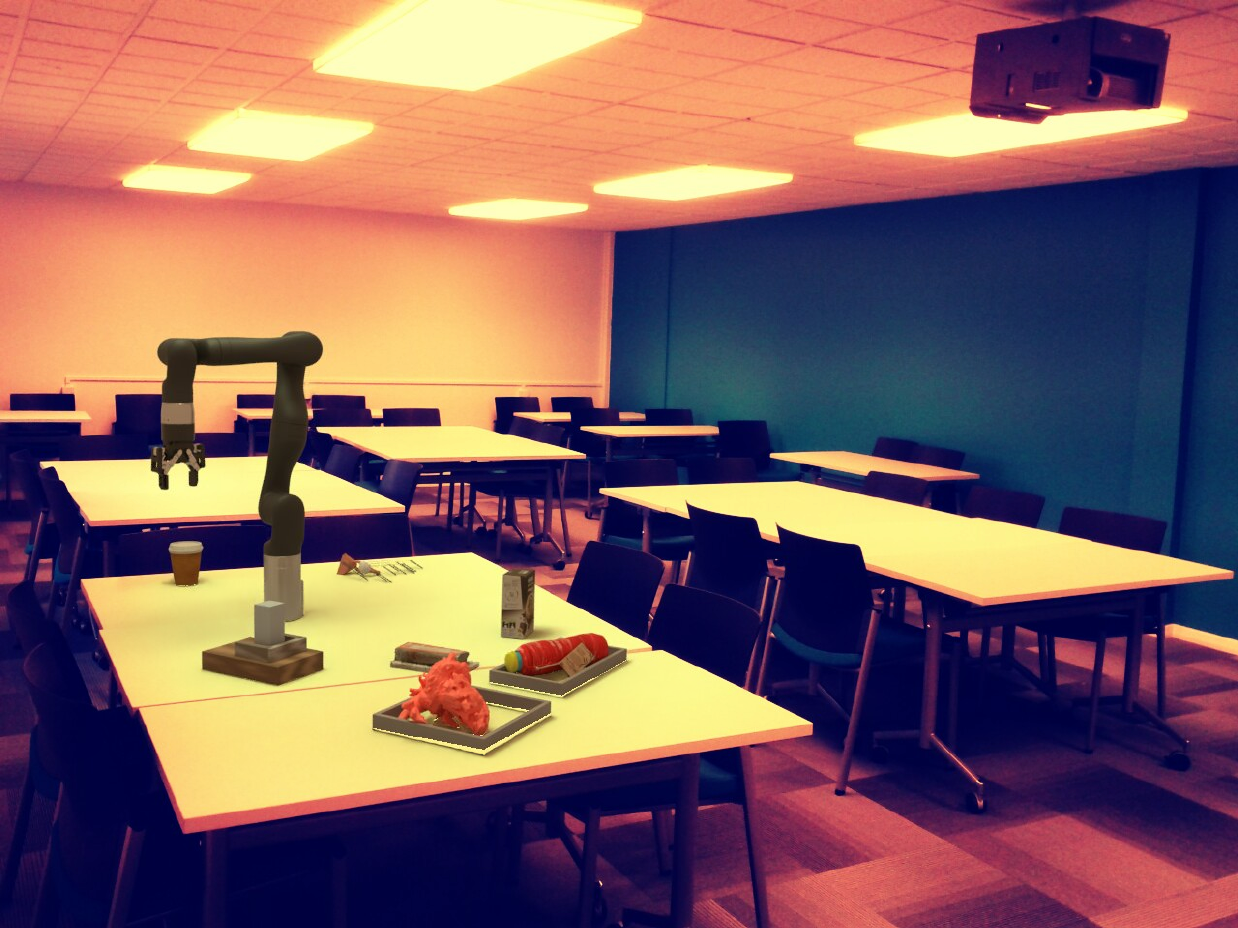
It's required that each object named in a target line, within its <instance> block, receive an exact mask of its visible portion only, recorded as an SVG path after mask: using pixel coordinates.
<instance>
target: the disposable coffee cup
mask: <svg viewBox="0 0 1238 928" xmlns="http://www.w3.org/2000/svg"><path fill="white" fill-rule="evenodd" d="M203 549H204V546H203V544H202V542H200V541H193V540H192V541H191V540H190V541H187V540H186V541H176V542H172V543H170V545H169V548H168V551H169V553H170V559H171V566H172V572H173V578H174V580H173V581H174V585H175V584H176V585H175V586H177V585H185V586H184V587H187V586H186V585H192V586H195V585H194V584H196V585H198V584H199V577H200V569H201V561H202V551H203ZM197 583H198V584H197Z"/></svg>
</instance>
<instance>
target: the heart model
mask: <svg viewBox="0 0 1238 928" xmlns="http://www.w3.org/2000/svg"><path fill="white" fill-rule="evenodd" d="M455 656H456V654H455V653H454V652H451V653H450V654H449V656H448V657H447V658H445V657H444V658H443V660H441V661H439V662H437V663H436V664H434V665H433V666H432V668H431V669H430V671H429V673H427V674H426V673H425V672H422V675H421V674H419V675H418V677H417V679H418V682H419V684H420V685H419V687H418V688H411V687H410V688H409V694H408V696H409V697H412V696H413V697H412V698H411V699H410V700H409V701H407V702H406V703H405V702H404V703H403V704H402V709H404V710H403V711H402V712H401V714H400V715H399V717H398V718H402V719H406V720H409V718H410V719H411V721H413V722H418V723H424V724H428V721H426V719H425V716H424V715H422V714H423V713H424V712H429V714H430V715H432V716H435V715H436V716H435V718H434V719H437V718H438V719H439V718H440V717H441V718H440V722H441V724H443V725H446V726H448V727H451V728H454V729H458V728H457V727H460V728H461V726H460V725H462V726H463V727H465V728H466V729H468V731H470V732H472V734H474V735H477V736H480V735H483V734H484V733H485V732H486V733H487V731H488V730H489V723H490V713H491V712H490V709H489V705H487V704H486V702H484V699H483V697H482V696H481V695H480V694H479V692H478V691H477V690H476V689H475V688H472V687H471V685H472V675H471V671H472V670H471V669H470V667H469V665H468V664H467V663H466V662H462V663H460V662H458V661H455ZM454 718H455V719H456V720H457V721H458V722H457V721H456V720H455V719H454ZM486 733H485V734H486ZM485 734H484V735H485Z"/></svg>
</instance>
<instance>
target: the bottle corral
mask: <svg viewBox="0 0 1238 928" xmlns="http://www.w3.org/2000/svg"><path fill="white" fill-rule="evenodd" d="M562 638H563V637H558V638H557V639H562ZM608 646H609V654H608V656H607V657H605V658H604V659H602V660H600V661H598V662H596V663H594V664H593V665H591V666H589V667H587V668H583V669H582V670H581V671H580V672H578V673H576V674H574V675H572V676H570V677H567V678H564V679H563V680H561V681H557V680H553V679H552V680H550V679H546V678H540V677H537V676H526V675H522V674H520V673H516V672H513V673H510V672H508V671H507V670H506V667H505V664H504V663H502V664H500V665H498V666H495V667H494V668H491V669H489V675H488V681H489V682H493V683H498V684H504V685H508V686H514V687H519V688H524V689H530V690H534V691H539V692H545V693H550V694H556V695H561V696H562V695H564V694H565V693H567V692H569V691H571V690H572V689H574V688H576V687H578V686H580V685H582V684H583V683H585V682H587V681H588V680H590V679H592V678H595V677H597V676H599V675H600V674H602V673H604V672H606V671H608V670H609V669H611V668H613V667H615V666H616V665H618V664H620V663H622V662H623V661H625V660H626V661H627V659H628V658H627V651H628V649H627V648H624V647H619V646H613V645H608ZM622 664H623V663H622ZM620 665H621V664H620ZM615 668H616V667H615ZM613 669H614V668H613ZM608 672H609V671H608ZM515 673H516V674H515ZM606 673H607V672H606ZM599 677H600V676H599ZM489 682H488V683H489Z"/></svg>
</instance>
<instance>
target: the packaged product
mask: <svg viewBox="0 0 1238 928" xmlns="http://www.w3.org/2000/svg"><path fill="white" fill-rule="evenodd" d="M451 652H454V653H455V654H456V656H455V661H458V662H460V663H462V662H466V663H467V664H468V665H469V667H470V669H471V671H473V670H474V669H476V668H477V666H478V665H479V666H480V662H479V661H472V660H468V658H469V656H470V652H469V651H466V650H461V649H457V648H450V647H444V646H438V645H433V644H425V643H421V642H414V641H408V642H405V643H403V644H401V645H399V646H396V647H395V648H394V660H391V661H390V663H389V667H390V668H394V667H395V668H396V669H402V670H408V671H413V672H418V673H419V672H420V673H424V672H425V674H426V673H427V674H428V673H429V671H430V669H431V668H432V666H433V665H434V664H436V663H437V662H439V661H441V660H443V658H444V657H445V658H447V657H448V656H449V654H450V653H451ZM479 666H478V667H479ZM475 667H476V668H475ZM472 669H473V670H472Z"/></svg>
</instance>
